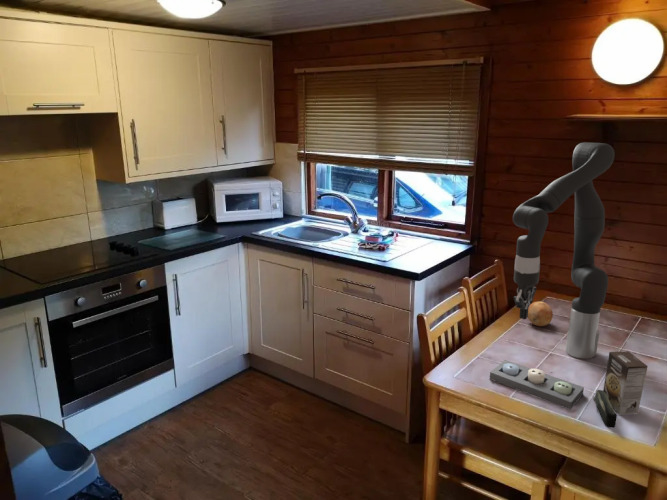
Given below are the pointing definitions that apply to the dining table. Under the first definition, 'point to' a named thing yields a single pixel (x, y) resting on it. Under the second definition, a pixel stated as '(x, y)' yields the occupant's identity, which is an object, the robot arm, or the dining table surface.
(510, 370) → the blue button
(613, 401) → the coffee box
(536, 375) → the cream button
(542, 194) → the robot arm
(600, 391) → the mobile phone
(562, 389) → the sage button
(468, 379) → the dining table surface
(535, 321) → the tan round ball
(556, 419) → the dining table surface
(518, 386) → the button board
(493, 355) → the dining table surface
